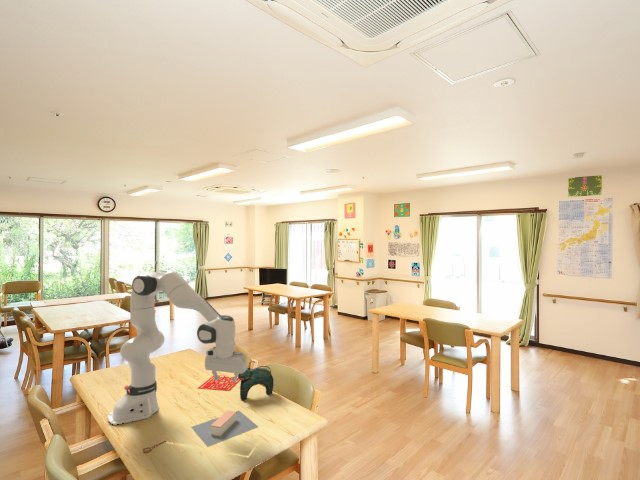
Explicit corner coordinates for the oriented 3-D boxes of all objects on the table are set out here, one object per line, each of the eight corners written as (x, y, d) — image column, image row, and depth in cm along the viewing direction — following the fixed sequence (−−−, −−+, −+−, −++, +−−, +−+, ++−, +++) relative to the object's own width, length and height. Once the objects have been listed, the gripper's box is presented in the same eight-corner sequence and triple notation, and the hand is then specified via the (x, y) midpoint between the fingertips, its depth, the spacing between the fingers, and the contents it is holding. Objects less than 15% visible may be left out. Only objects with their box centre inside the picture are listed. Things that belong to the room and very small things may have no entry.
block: (220, 426, 149) (236, 411, 162) (210, 425, 150) (227, 410, 163) (220, 436, 149) (236, 420, 162) (210, 434, 150) (227, 418, 163)
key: (172, 434, 153) (138, 450, 140) (172, 432, 153) (138, 448, 141) (180, 437, 149) (145, 454, 137) (180, 435, 149) (145, 452, 137)
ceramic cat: (238, 402, 182) (238, 364, 182) (236, 397, 188) (236, 361, 188) (274, 395, 190) (274, 359, 190) (271, 390, 196) (271, 356, 196)
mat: (207, 448, 141) (207, 446, 141) (191, 428, 156) (191, 426, 156) (258, 428, 156) (258, 426, 156) (238, 411, 171) (238, 410, 171)
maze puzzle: (229, 391, 196) (229, 390, 196) (197, 389, 199) (197, 388, 199) (243, 378, 215) (243, 377, 215) (214, 376, 219) (214, 375, 219)
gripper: (248, 350, 158) (248, 380, 158) (210, 347, 164) (210, 375, 164) (242, 355, 152) (242, 385, 152) (202, 351, 158) (202, 381, 158)
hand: (225, 380), depth 158 cm, fingers open, 8 cm apart
